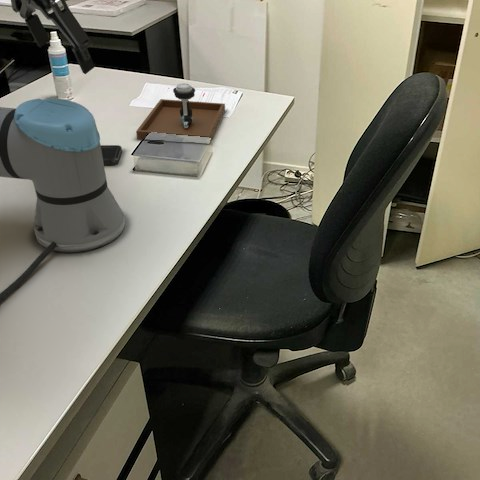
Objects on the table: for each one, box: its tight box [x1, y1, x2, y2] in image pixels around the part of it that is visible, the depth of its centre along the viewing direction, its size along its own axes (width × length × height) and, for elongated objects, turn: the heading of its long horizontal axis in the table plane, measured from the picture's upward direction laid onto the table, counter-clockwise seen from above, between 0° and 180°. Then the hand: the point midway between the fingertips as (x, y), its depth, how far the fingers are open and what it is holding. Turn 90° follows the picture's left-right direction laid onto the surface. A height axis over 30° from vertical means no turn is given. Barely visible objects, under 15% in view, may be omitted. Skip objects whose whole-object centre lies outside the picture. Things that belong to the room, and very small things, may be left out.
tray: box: [136, 98, 226, 141], centre depth 142 cm, size 22×18×2 cm
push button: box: [172, 83, 196, 128], centre depth 139 cm, size 7×5×10 cm
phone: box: [100, 144, 123, 166], centre depth 124 cm, size 8×1×15 cm
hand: (66, 56), depth 117 cm, fingers open, 13 cm apart
